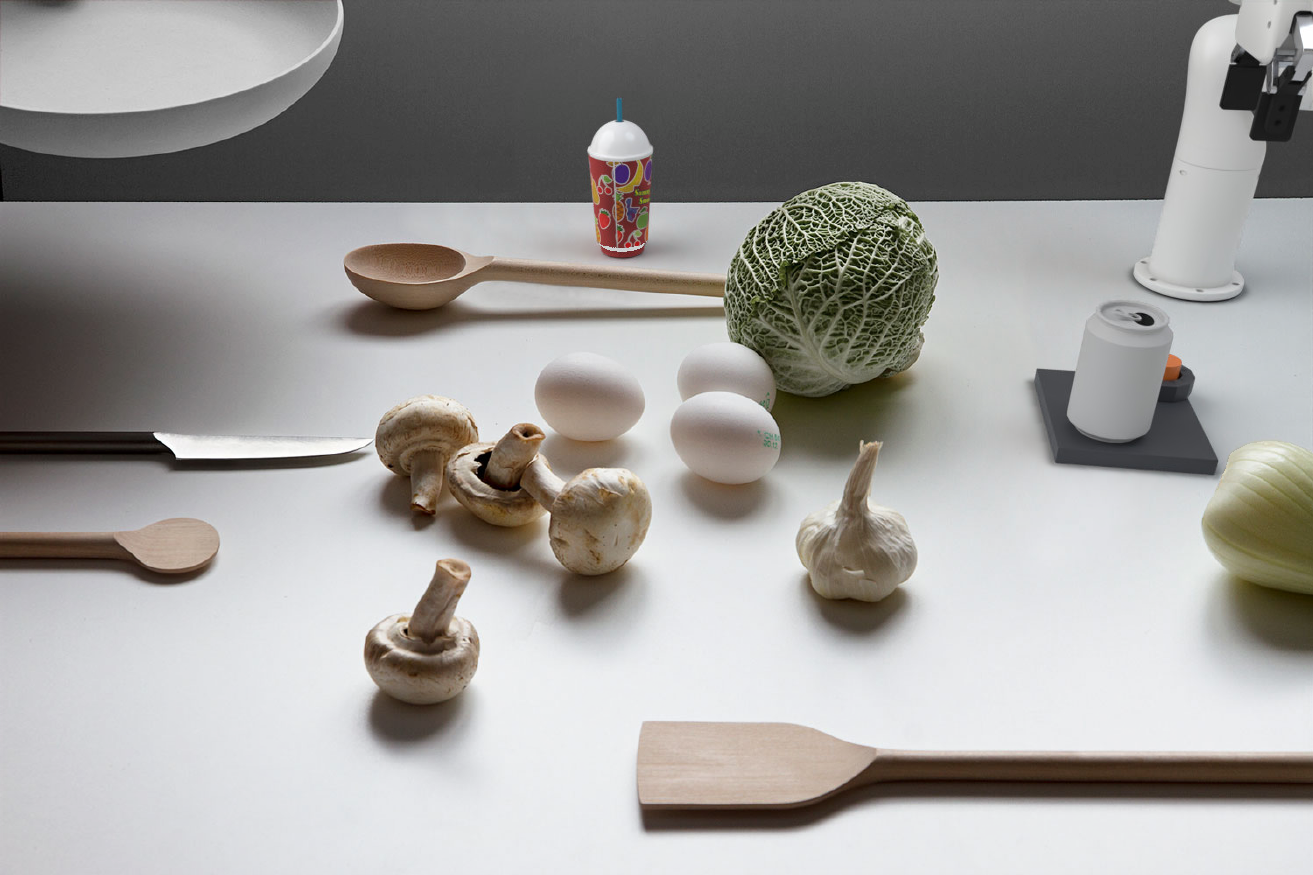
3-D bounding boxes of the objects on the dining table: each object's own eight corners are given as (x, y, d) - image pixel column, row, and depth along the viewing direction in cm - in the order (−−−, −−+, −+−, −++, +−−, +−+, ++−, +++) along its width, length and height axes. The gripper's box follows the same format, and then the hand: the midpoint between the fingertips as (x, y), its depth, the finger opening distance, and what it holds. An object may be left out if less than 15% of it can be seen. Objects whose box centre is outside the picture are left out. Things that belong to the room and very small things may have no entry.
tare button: (1140, 366, 115) (1144, 351, 114) (1173, 368, 114) (1177, 353, 114) (1147, 381, 112) (1151, 365, 111) (1181, 383, 112) (1185, 367, 111)
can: (1154, 451, 104) (1185, 333, 97) (1069, 443, 105) (1094, 326, 99) (1141, 411, 110) (1169, 297, 104) (1061, 404, 111) (1084, 291, 105)
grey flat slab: (1033, 380, 119) (1038, 350, 117) (1178, 390, 117) (1186, 359, 115) (1055, 463, 105) (1061, 431, 103) (1220, 476, 103) (1230, 443, 101)
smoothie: (653, 262, 147) (652, 107, 137) (589, 262, 147) (583, 108, 137) (654, 238, 154) (653, 90, 144) (593, 239, 154) (587, 90, 144)
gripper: (1401, -72, 84) (1331, 155, 93) (1322, -99, 98) (1268, 100, 107) (1293, -74, 85) (1234, 152, 94) (1231, -100, 99) (1185, 97, 108)
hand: (1252, 124), depth 100 cm, fingers open, 9 cm apart
